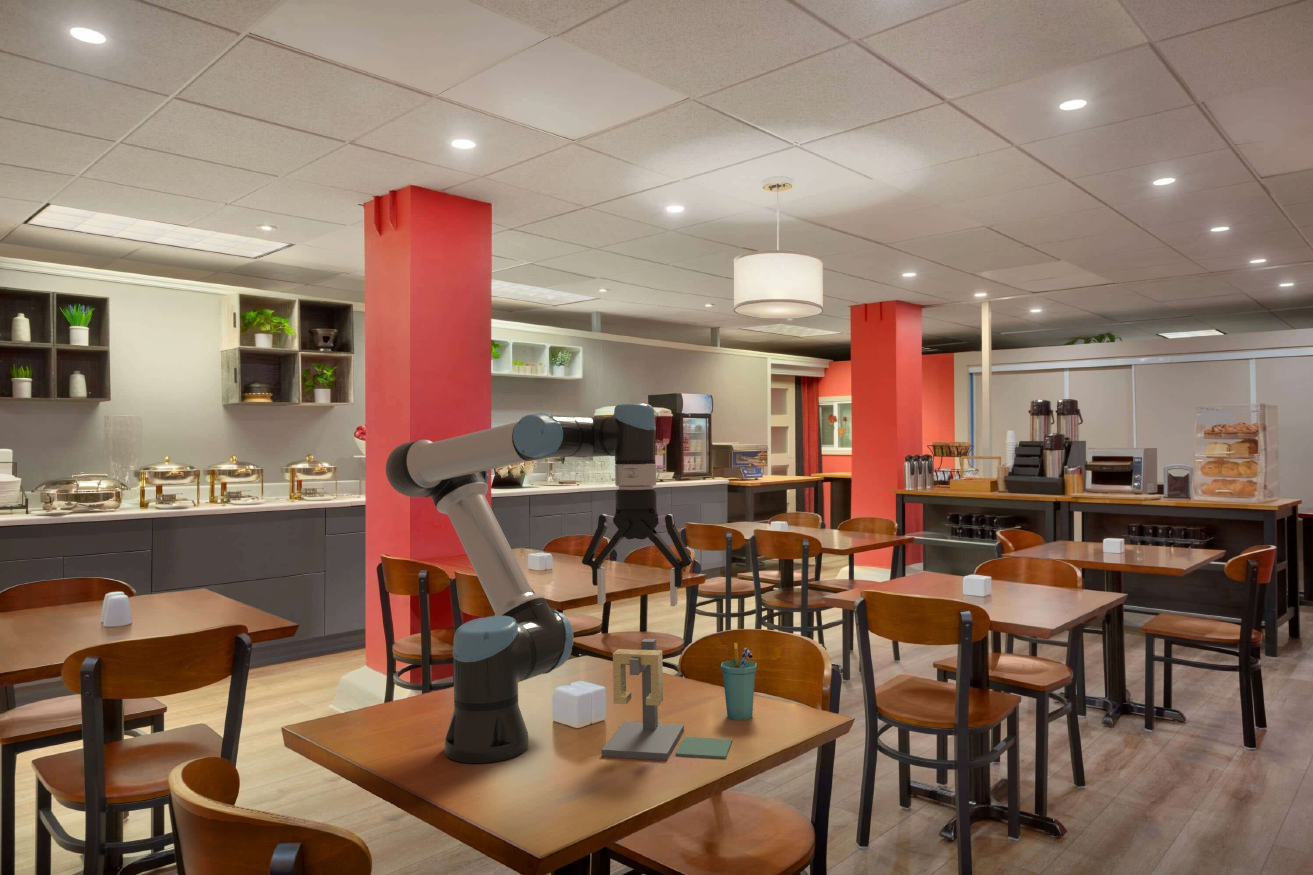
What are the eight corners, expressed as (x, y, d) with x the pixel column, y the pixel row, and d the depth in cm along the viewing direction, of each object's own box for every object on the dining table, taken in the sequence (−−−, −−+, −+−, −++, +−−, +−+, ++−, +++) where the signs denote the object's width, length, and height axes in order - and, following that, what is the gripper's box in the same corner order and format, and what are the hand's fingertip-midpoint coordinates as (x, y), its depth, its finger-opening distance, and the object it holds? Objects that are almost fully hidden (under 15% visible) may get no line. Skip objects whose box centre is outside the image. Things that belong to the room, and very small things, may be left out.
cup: (771, 726, 162) (769, 649, 163) (733, 729, 161) (731, 652, 161) (748, 706, 176) (747, 635, 176) (713, 709, 174) (712, 637, 175)
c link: (613, 703, 150) (612, 653, 150) (618, 697, 153) (618, 649, 154) (658, 705, 148) (658, 655, 148) (663, 699, 152) (662, 650, 152)
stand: (601, 756, 148) (599, 654, 148) (624, 727, 163) (622, 636, 164) (667, 760, 145) (665, 657, 146) (684, 730, 161) (682, 637, 161)
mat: (675, 755, 147) (675, 753, 147) (684, 738, 156) (684, 736, 156) (725, 758, 146) (725, 756, 146) (732, 741, 154) (732, 739, 154)
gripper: (564, 489, 151) (565, 606, 150) (699, 488, 146) (701, 609, 145) (577, 487, 158) (578, 599, 158) (706, 486, 153) (708, 602, 152)
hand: (637, 604), depth 151 cm, fingers open, 13 cm apart
